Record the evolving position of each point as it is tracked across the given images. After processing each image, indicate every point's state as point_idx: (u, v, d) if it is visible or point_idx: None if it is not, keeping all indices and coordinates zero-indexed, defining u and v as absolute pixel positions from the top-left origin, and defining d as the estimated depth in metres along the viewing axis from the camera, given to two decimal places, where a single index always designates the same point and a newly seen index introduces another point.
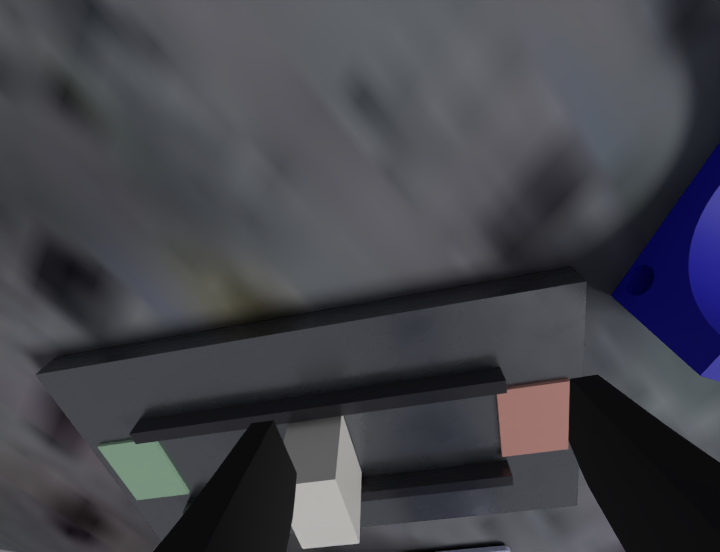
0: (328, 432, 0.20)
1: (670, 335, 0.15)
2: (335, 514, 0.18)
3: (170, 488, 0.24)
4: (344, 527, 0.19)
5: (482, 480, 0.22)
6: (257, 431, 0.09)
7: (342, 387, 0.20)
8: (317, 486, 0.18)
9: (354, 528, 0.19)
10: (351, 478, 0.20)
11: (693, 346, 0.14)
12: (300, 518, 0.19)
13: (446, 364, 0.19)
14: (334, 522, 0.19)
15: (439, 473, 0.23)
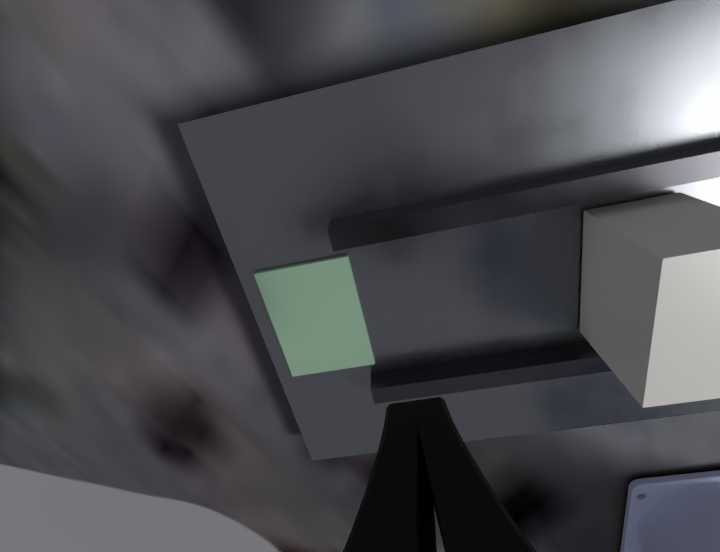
0: (688, 207, 0.12)
1: None
2: None
3: (349, 354, 0.16)
4: None
5: None
6: (402, 410, 0.09)
7: (699, 139, 0.12)
8: None
9: None
10: None
11: None
12: (676, 337, 0.10)
13: None
14: None
15: None
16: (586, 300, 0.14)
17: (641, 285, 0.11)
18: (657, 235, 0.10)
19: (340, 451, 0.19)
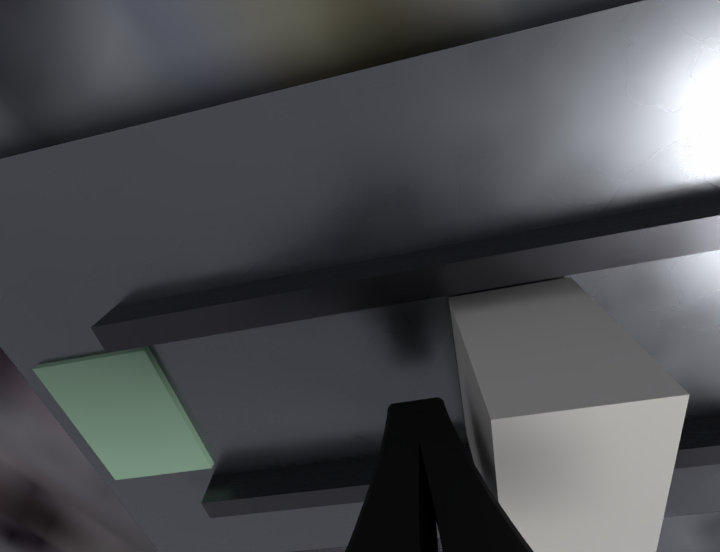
0: (569, 308, 0.08)
1: None
2: (630, 500, 0.07)
3: (178, 457, 0.13)
4: (637, 533, 0.08)
5: None
6: (404, 410, 0.09)
7: (575, 214, 0.09)
8: (621, 419, 0.06)
9: (655, 535, 0.08)
10: None
11: None
12: (533, 510, 0.07)
13: None
14: (617, 520, 0.07)
15: None
16: (464, 405, 0.11)
17: (485, 433, 0.07)
18: (507, 363, 0.07)
19: None
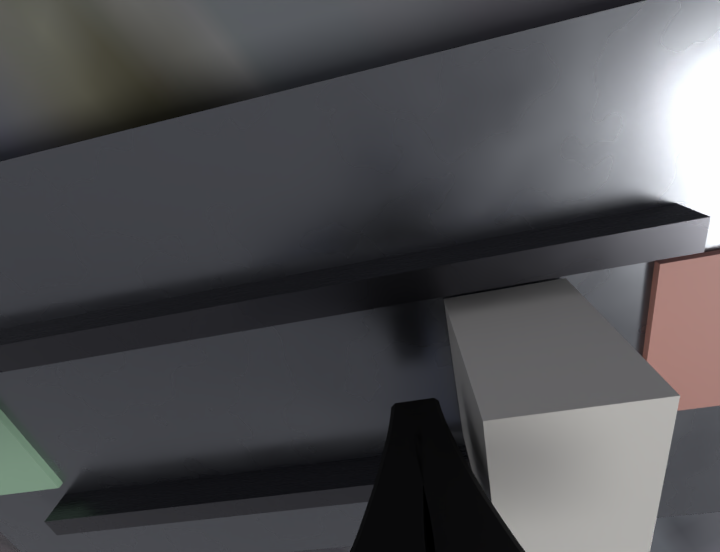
0: (562, 310, 0.08)
1: None
2: (624, 501, 0.07)
3: (25, 477, 0.14)
4: (630, 533, 0.08)
5: None
6: (408, 410, 0.09)
7: (328, 261, 0.10)
8: (613, 420, 0.06)
9: (648, 536, 0.08)
10: None
11: None
12: (526, 511, 0.07)
13: (556, 198, 0.09)
14: (611, 521, 0.07)
15: None
16: (460, 406, 0.11)
17: (478, 434, 0.07)
18: (500, 364, 0.07)
19: None
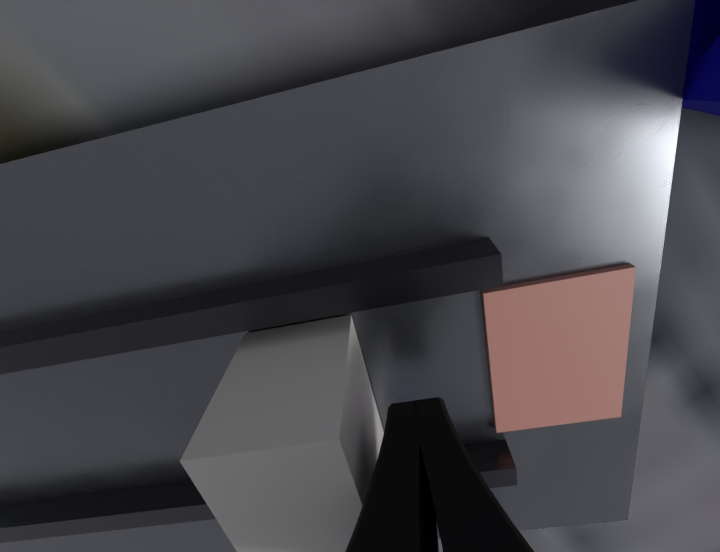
0: (323, 348, 0.09)
1: None
2: (339, 529, 0.08)
3: None
4: None
5: None
6: (404, 410, 0.09)
7: (176, 291, 0.10)
8: (292, 460, 0.07)
9: None
10: (372, 450, 0.10)
11: None
12: (258, 538, 0.08)
13: (377, 233, 0.09)
14: (338, 547, 0.08)
15: None
16: None
17: None
18: (234, 404, 0.08)
19: None
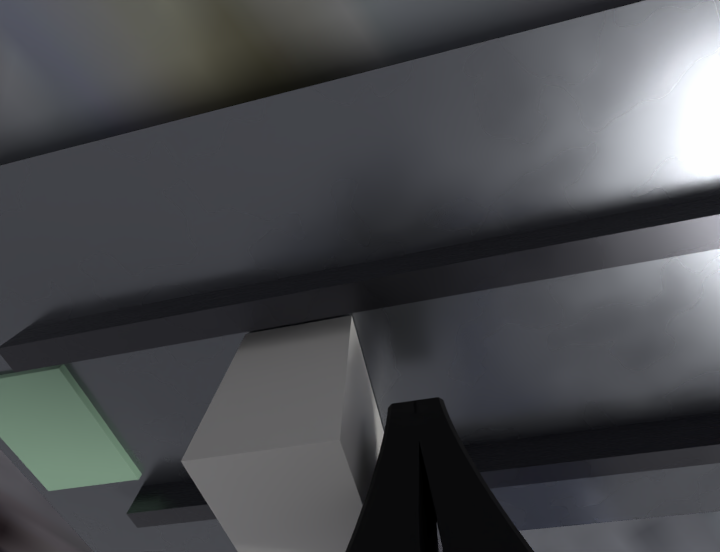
0: (323, 349, 0.09)
1: None
2: (339, 529, 0.08)
3: (105, 469, 0.13)
4: None
5: None
6: (405, 410, 0.09)
7: (450, 239, 0.09)
8: (292, 461, 0.07)
9: None
10: (373, 450, 0.10)
11: None
12: (258, 538, 0.08)
13: (701, 169, 0.08)
14: (338, 546, 0.08)
15: (619, 435, 0.12)
16: None
17: None
18: (235, 404, 0.08)
19: None
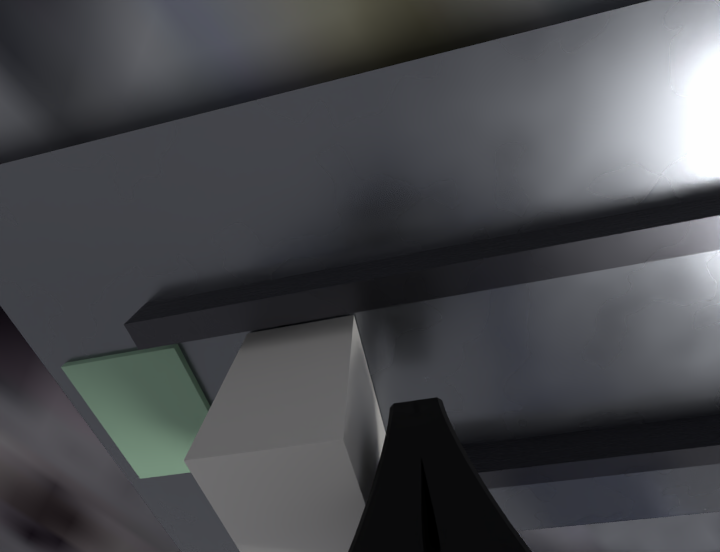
0: (326, 348, 0.09)
1: None
2: (342, 529, 0.08)
3: None
4: None
5: None
6: (406, 410, 0.09)
7: (613, 208, 0.09)
8: (296, 460, 0.07)
9: None
10: (375, 450, 0.10)
11: None
12: (261, 537, 0.08)
13: None
14: (340, 546, 0.08)
15: None
16: None
17: None
18: (238, 404, 0.08)
19: None
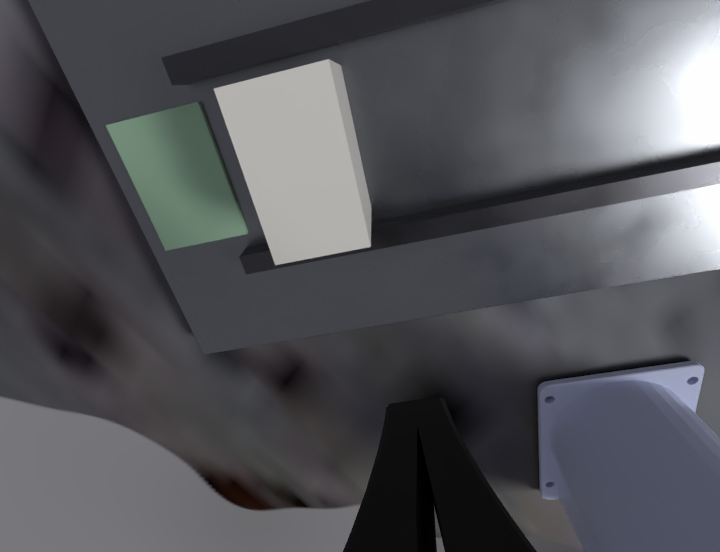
0: None
1: None
2: (329, 167, 0.10)
3: (219, 222, 0.15)
4: (345, 203, 0.11)
5: None
6: (403, 410, 0.09)
7: None
8: (294, 84, 0.10)
9: (362, 210, 0.11)
10: (356, 158, 0.12)
11: None
12: (268, 181, 0.11)
13: None
14: (328, 189, 0.11)
15: (665, 165, 0.14)
16: None
17: None
18: None
19: (230, 342, 0.18)
